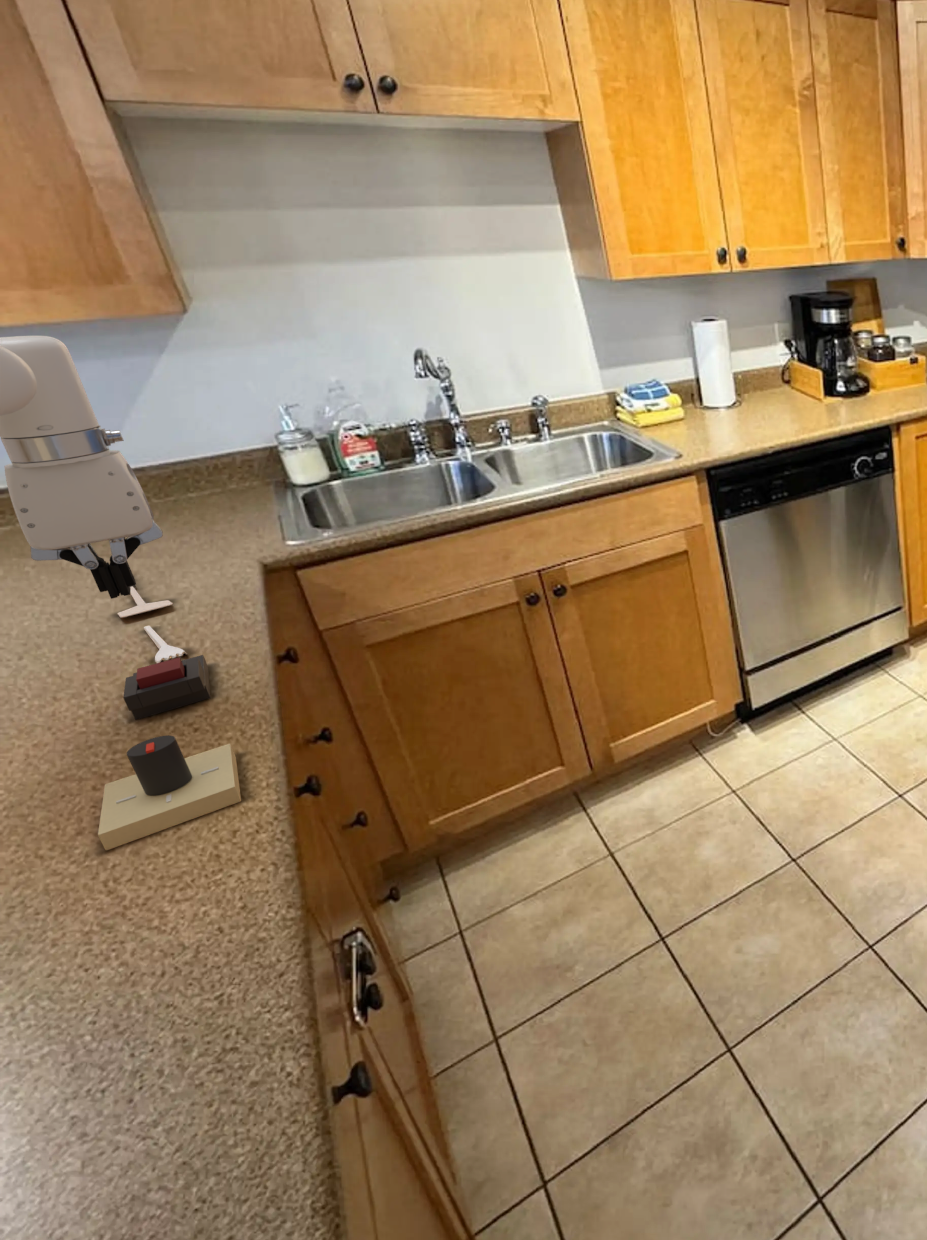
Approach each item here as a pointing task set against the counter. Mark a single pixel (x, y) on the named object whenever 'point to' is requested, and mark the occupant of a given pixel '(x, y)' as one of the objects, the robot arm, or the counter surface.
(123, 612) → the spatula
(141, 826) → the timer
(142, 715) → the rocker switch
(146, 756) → the timer knob
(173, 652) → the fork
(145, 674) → the red rectangular block
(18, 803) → the counter surface
